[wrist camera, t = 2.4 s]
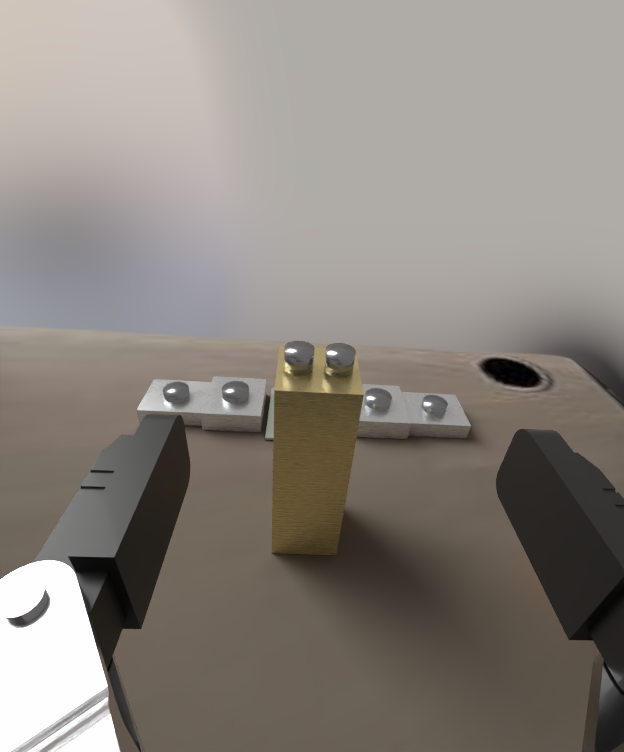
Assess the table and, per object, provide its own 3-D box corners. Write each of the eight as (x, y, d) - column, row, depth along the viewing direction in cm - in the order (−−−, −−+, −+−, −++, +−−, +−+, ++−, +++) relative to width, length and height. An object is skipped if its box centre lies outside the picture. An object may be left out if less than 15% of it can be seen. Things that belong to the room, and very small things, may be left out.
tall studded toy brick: (271, 553, 28) (274, 370, 19) (276, 500, 31) (280, 327, 23) (336, 555, 28) (367, 375, 19) (333, 502, 32) (357, 331, 23)
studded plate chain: (133, 433, 36) (127, 410, 35) (160, 383, 43) (157, 361, 42) (471, 449, 38) (480, 427, 36) (447, 398, 44) (454, 377, 43)
